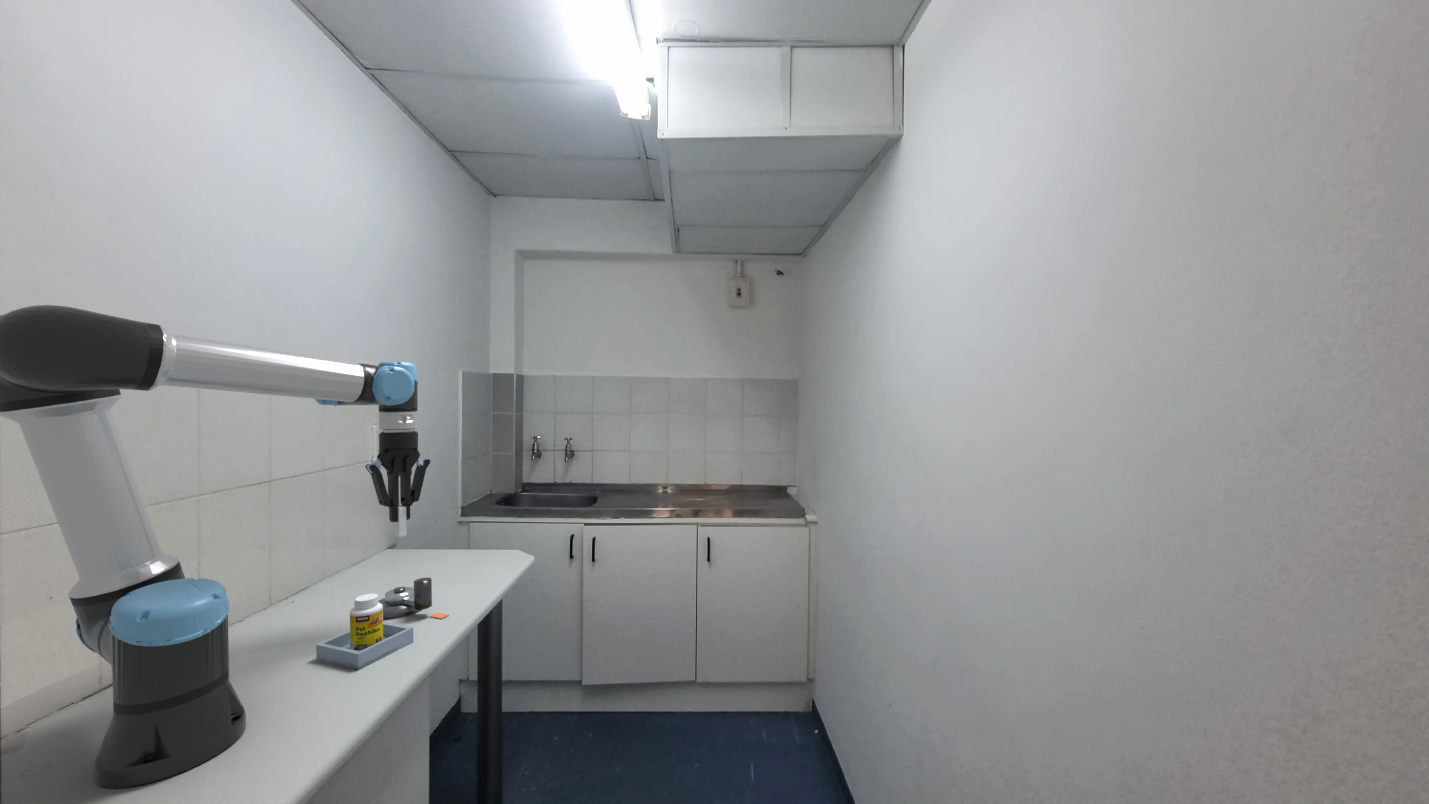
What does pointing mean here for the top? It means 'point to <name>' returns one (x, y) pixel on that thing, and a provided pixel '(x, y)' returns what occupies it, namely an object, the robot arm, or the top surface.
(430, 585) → the crank
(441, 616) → the orange flat block
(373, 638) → the supplement bottle
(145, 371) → the robot arm
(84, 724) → the top surface
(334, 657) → the tray
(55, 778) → the top surface
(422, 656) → the top surface
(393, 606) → the crank housing
